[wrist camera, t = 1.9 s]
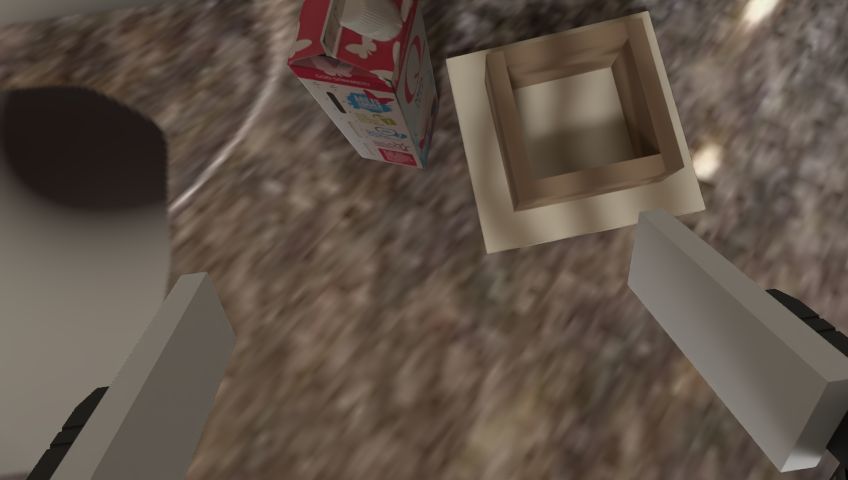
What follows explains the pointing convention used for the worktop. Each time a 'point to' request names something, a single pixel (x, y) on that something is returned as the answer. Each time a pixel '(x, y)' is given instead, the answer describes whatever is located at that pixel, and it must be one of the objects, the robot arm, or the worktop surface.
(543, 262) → the worktop surface
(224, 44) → the worktop surface
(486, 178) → the birch collar board
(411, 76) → the juice carton
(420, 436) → the worktop surface
